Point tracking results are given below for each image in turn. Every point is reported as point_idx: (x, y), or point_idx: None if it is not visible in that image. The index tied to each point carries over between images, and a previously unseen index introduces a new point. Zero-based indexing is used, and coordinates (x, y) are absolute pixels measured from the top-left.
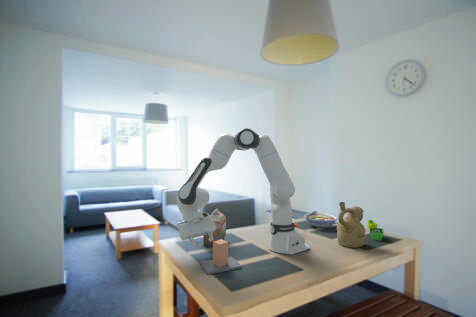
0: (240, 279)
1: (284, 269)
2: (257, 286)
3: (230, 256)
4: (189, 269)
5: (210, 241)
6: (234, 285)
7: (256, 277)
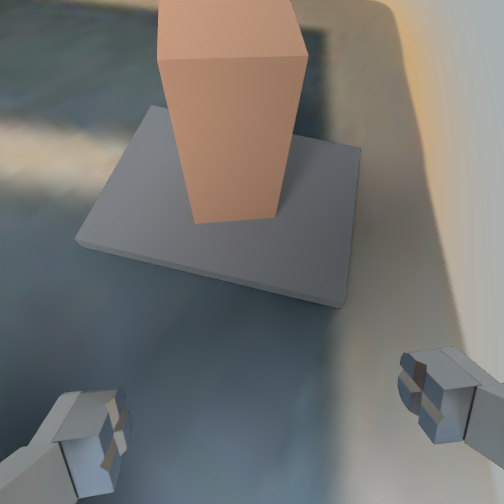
0: None
1: (21, 19)
2: None
3: (84, 238)
4: (436, 272)
5: (127, 415)
6: None
7: None
